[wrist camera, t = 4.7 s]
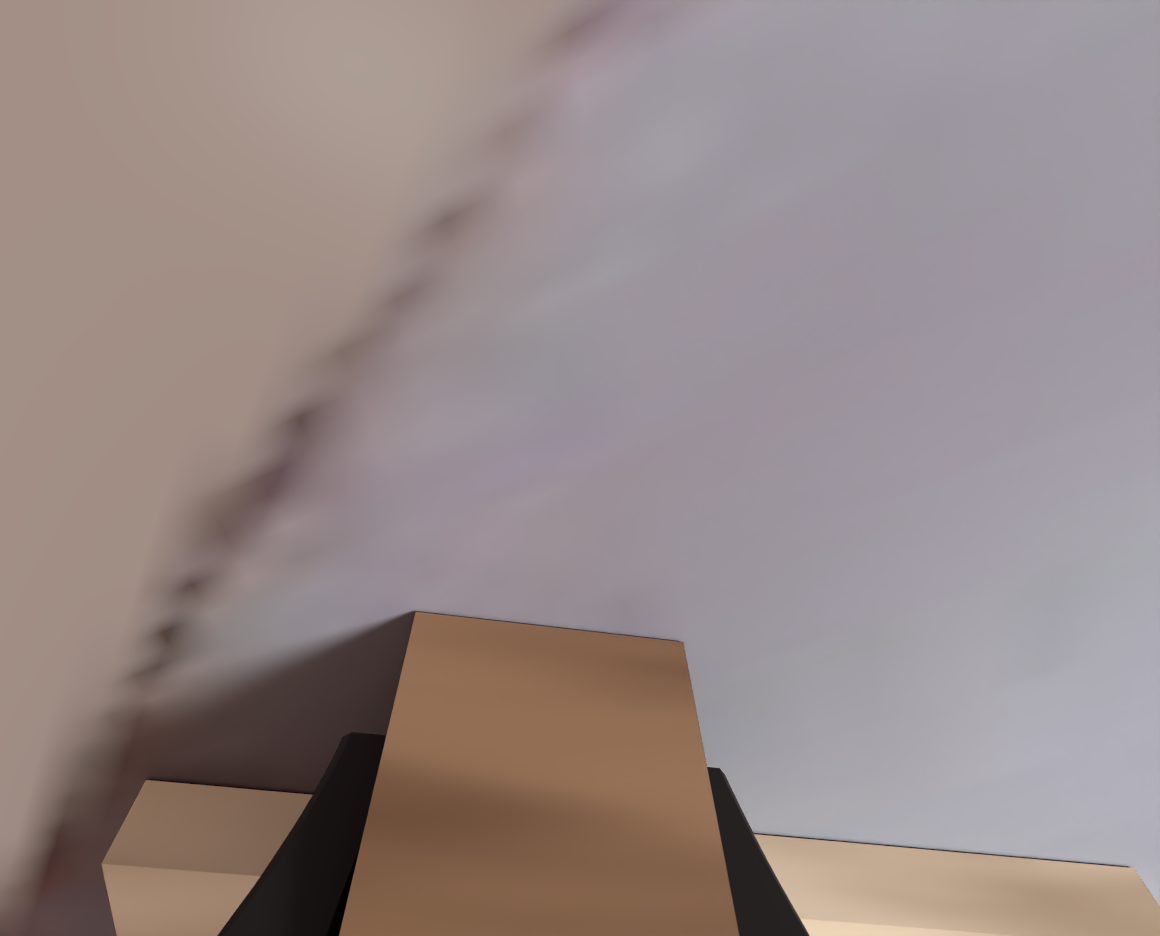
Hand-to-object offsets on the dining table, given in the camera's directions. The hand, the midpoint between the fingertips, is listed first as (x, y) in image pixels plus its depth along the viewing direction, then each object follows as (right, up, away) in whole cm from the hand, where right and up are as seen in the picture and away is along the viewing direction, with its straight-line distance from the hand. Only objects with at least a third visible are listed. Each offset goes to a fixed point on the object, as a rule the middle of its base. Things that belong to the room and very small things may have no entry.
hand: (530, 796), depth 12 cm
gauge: (-1, -2, +3) cm, 4 cm away
